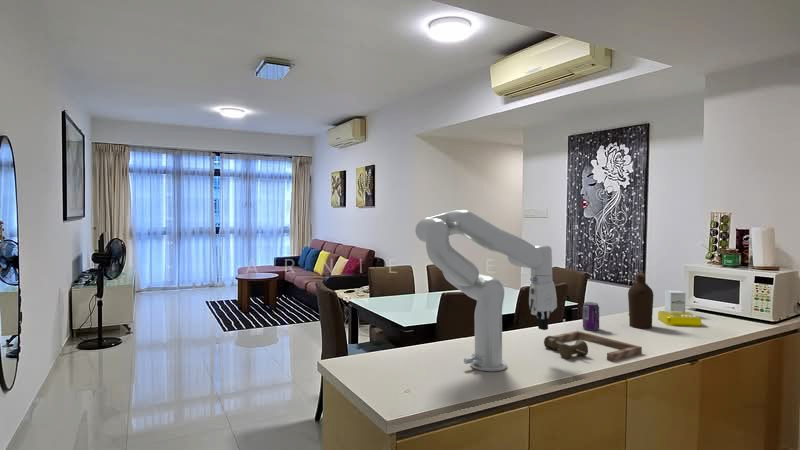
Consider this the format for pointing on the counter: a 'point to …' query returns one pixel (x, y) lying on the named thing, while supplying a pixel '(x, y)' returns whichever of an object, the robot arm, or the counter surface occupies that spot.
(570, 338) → the walnut bay
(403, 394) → the counter surface
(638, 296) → the olive oil
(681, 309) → the supplement box
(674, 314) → the element tile
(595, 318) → the beverage can
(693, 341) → the counter surface
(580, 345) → the kendama
